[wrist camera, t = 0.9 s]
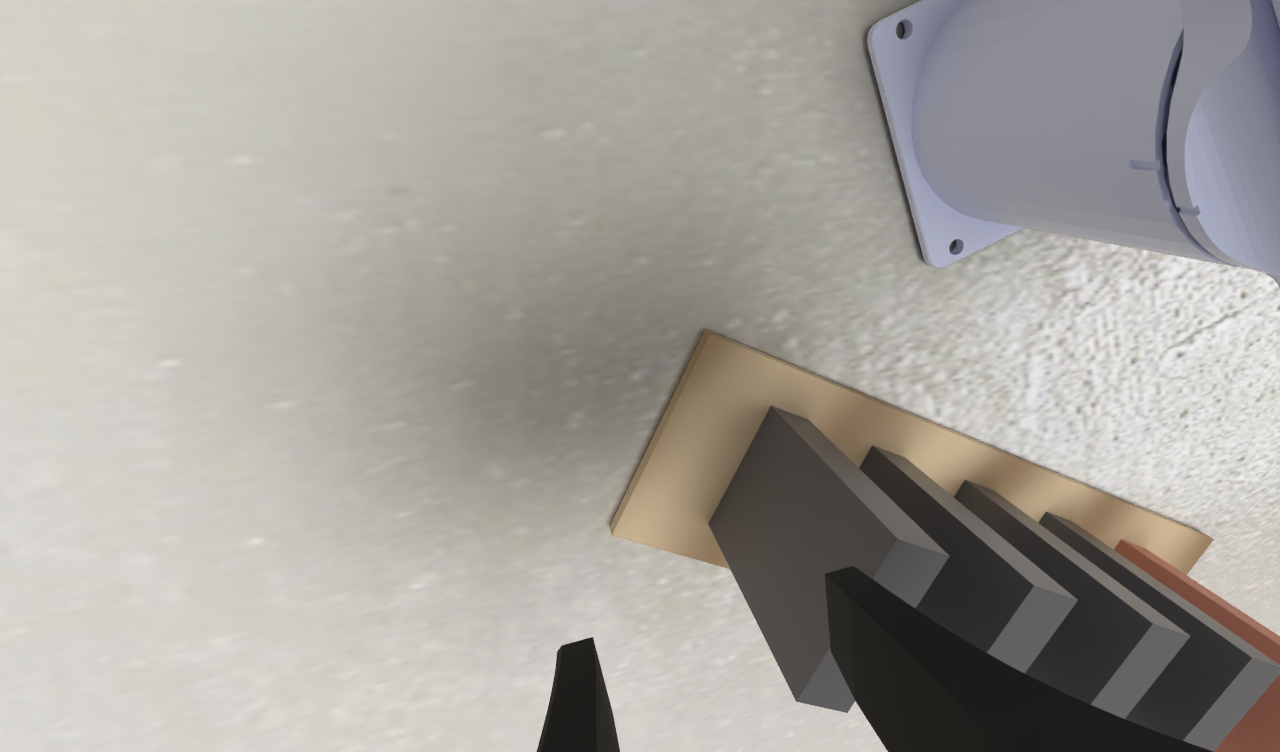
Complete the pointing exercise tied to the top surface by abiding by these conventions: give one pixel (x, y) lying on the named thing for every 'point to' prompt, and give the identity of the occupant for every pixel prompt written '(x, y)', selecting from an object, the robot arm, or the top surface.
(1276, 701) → the domino
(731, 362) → the board
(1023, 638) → the domino
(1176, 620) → the domino
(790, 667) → the domino
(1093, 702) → the domino
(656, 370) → the top surface
